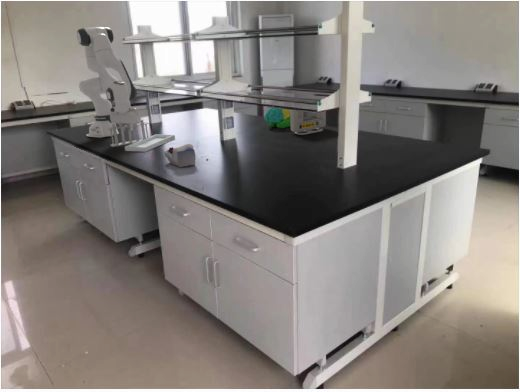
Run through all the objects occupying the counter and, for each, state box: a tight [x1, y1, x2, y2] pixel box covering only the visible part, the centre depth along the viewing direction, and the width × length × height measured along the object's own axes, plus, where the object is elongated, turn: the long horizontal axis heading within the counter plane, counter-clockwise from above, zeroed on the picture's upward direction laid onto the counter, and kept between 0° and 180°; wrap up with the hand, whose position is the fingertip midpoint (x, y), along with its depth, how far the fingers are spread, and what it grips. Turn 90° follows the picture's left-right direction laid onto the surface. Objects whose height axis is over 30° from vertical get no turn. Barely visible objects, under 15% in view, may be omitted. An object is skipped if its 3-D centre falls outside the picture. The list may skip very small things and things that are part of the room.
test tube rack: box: [108, 119, 150, 148], centre depth 268 cm, size 25×4×13 cm, turn 123°
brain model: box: [264, 107, 291, 129], centre depth 291 cm, size 24×19×15 cm
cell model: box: [164, 143, 196, 168], centre depth 216 cm, size 13×11×20 cm
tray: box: [124, 133, 176, 153], centre depth 263 cm, size 14×33×2 cm, turn 160°
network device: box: [290, 110, 327, 136], centre depth 270 cm, size 26×9×20 cm, turn 122°
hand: (127, 130), depth 267 cm, fingers closed on test tube rack, 5 cm apart
